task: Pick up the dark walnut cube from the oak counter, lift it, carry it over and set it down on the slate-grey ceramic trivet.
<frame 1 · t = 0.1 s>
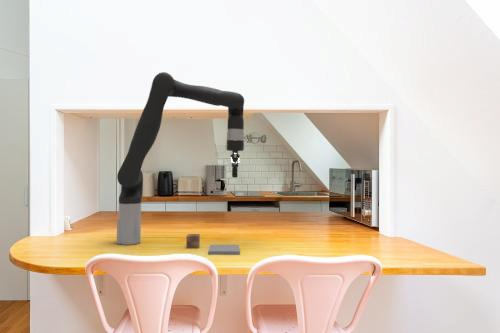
hand: (234, 176, 169), 29 cm above the table, fingers open, 8 cm apart
walnut cube: (193, 247, 160), on the table
trivet: (224, 250, 154), on the table
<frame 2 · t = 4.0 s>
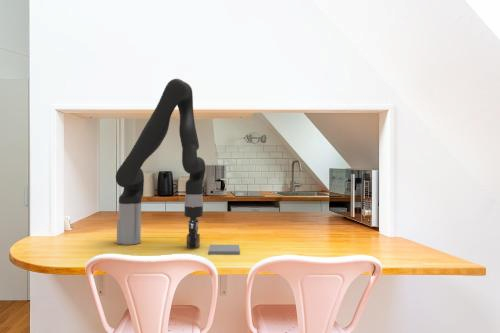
hand: (193, 245, 160), 0 cm above the table, fingers closed on walnut cube, 5 cm apart
walnut cube: (193, 246, 160), on the table, touching gripper
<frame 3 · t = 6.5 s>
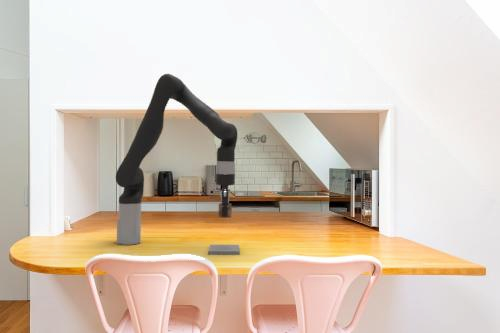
hand: (224, 215, 154), 14 cm above the table, fingers closed on walnut cube, 5 cm apart
walnut cube: (224, 216, 154), point 14 cm above the table, touching gripper
when the fingers open (3 cm above the table, at t = 9.2 s): walnut cube drops 1 cm, resting on trivet.
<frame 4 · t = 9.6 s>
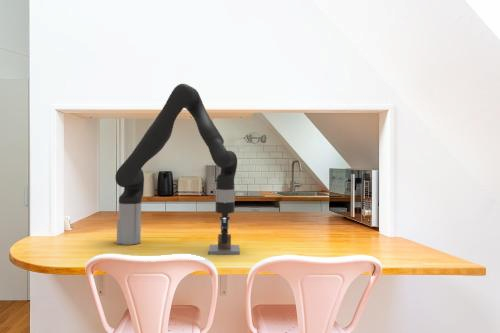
hand: (224, 241, 154), 4 cm above the table, fingers open, 8 cm apart
walnut cube: (224, 247, 154), point 1 cm above the table, touching trivet
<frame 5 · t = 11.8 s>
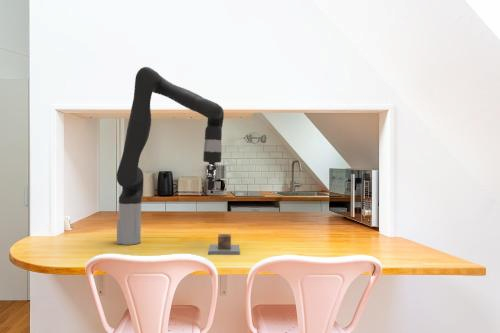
hand: (210, 189, 163), 24 cm above the table, fingers open, 8 cm apart
nothing on the table moved.
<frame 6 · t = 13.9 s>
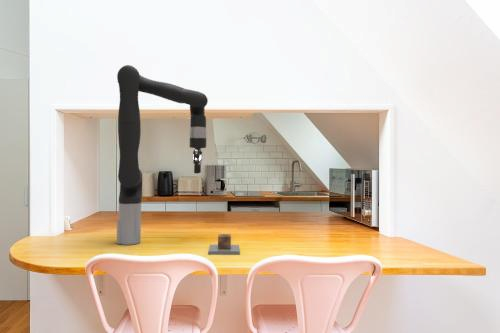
hand: (197, 173, 176), 30 cm above the table, fingers open, 8 cm apart
nothing on the table moved.
at the end: walnut cube inside the target area on the trivet (0.0 cm from its centre), point 1.2 cm above the trivet's base; walnut cube tilted 0°; the gripper is holding nothing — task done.
